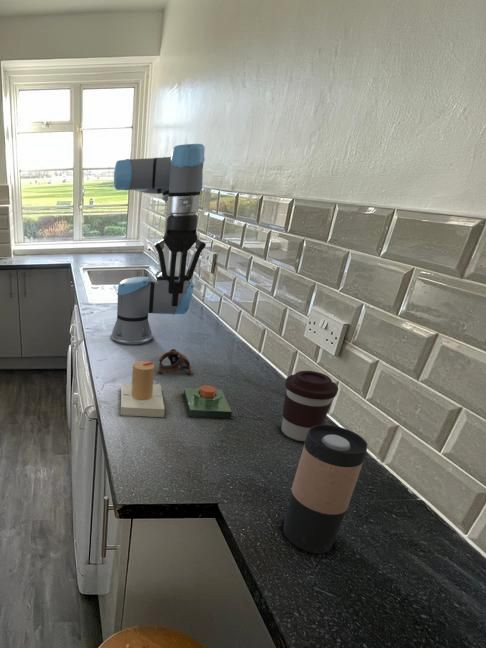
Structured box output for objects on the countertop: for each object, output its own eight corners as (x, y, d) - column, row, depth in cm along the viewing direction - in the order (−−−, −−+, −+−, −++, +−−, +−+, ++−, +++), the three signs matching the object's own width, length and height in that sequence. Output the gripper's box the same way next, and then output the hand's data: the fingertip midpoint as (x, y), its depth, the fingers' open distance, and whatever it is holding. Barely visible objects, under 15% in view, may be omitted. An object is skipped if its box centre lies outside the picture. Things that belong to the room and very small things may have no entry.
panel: (121, 390, 118) (121, 382, 117) (159, 392, 116) (160, 383, 115) (120, 415, 106) (121, 406, 104) (163, 417, 104) (164, 408, 102)
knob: (138, 401, 106) (140, 370, 103) (127, 392, 111) (128, 362, 107) (156, 397, 108) (158, 366, 104) (144, 388, 113) (146, 358, 109)
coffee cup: (317, 425, 97) (333, 369, 91) (328, 449, 89) (346, 389, 83) (271, 419, 100) (284, 365, 94) (278, 442, 92) (292, 384, 86)
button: (198, 390, 108) (199, 384, 108) (213, 391, 108) (214, 385, 107) (200, 397, 105) (201, 391, 104) (216, 398, 104) (217, 392, 103)
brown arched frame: (196, 380, 123) (187, 361, 118) (166, 390, 126) (157, 373, 122) (188, 356, 132) (179, 338, 127) (160, 366, 135) (151, 349, 131)
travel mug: (271, 521, 71) (296, 426, 63) (312, 517, 72) (342, 422, 63) (299, 557, 64) (331, 456, 56) (345, 552, 65) (383, 451, 56)
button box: (183, 394, 114) (184, 382, 112) (220, 396, 112) (222, 383, 111) (189, 416, 103) (191, 403, 102) (230, 419, 102) (233, 405, 100)
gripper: (156, 216, 99) (150, 308, 109) (212, 214, 96) (201, 309, 106) (154, 213, 105) (149, 301, 115) (206, 212, 103) (196, 301, 113)
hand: (174, 304), depth 111 cm, fingers closed
